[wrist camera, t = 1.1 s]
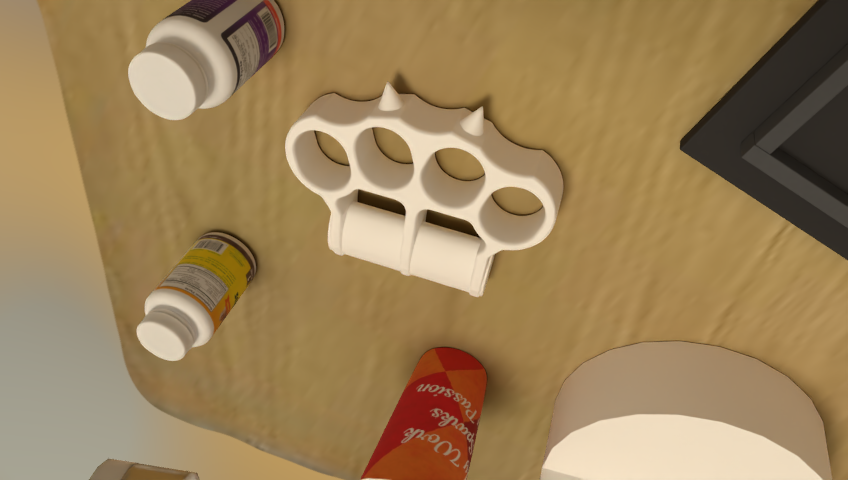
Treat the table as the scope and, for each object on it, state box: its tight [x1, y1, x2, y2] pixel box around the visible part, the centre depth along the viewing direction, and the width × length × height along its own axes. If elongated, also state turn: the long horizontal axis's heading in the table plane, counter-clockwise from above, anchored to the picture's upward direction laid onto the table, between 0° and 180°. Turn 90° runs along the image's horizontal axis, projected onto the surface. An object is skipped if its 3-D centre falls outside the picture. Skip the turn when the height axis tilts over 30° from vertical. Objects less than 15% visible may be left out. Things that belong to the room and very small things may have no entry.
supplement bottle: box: [137, 232, 256, 361], centre depth 56 cm, size 6×6×10 cm
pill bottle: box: [128, 0, 284, 120], centre depth 41 cm, size 5×5×10 cm
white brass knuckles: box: [285, 81, 563, 297], centre depth 47 cm, size 3×18×15 cm
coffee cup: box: [360, 347, 487, 480], centre depth 54 cm, size 8×8×15 cm
